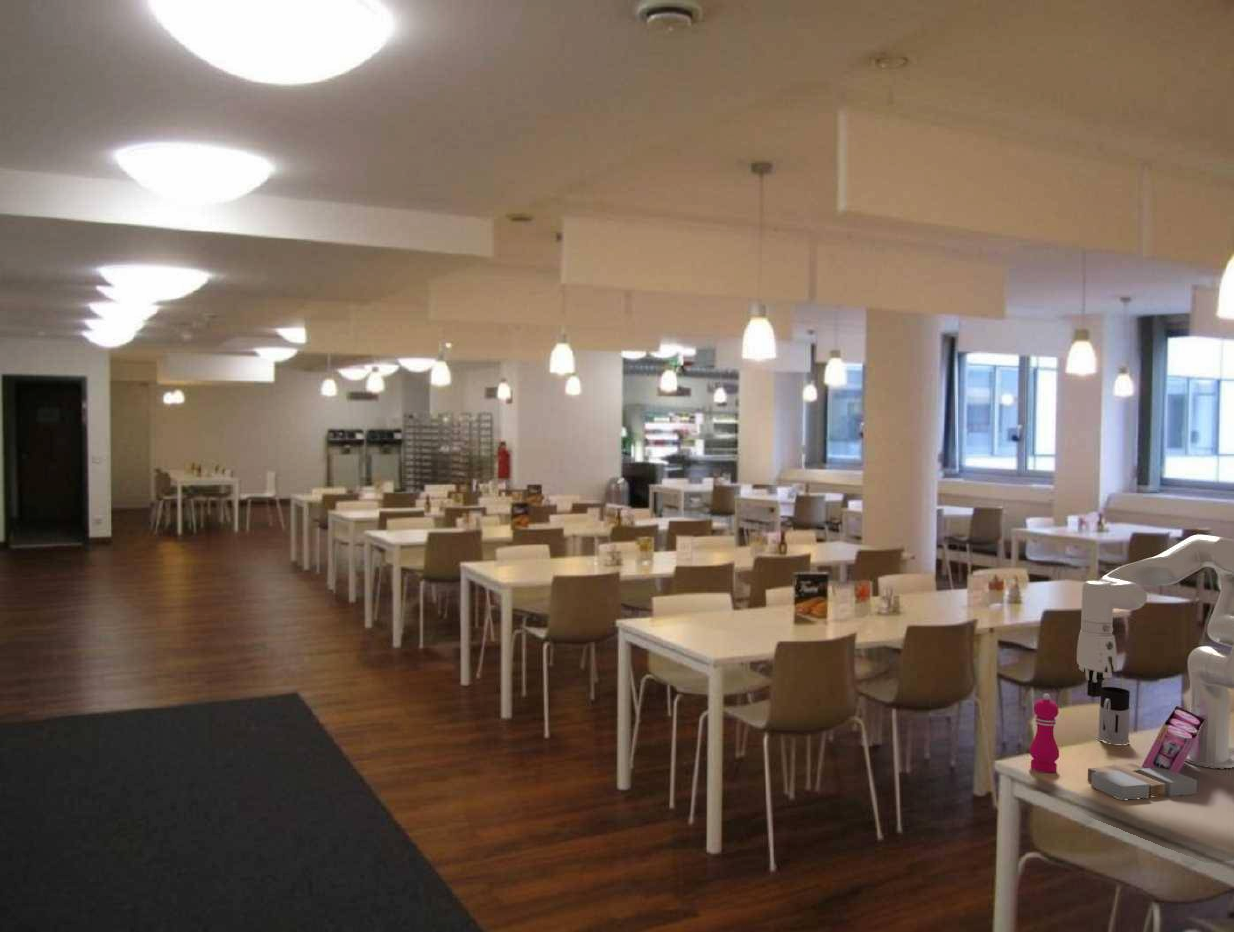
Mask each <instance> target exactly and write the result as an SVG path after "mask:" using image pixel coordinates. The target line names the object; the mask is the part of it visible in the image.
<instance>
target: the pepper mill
mask: <svg viewBox="0 0 1234 932" xmlns="http://www.w3.org/2000/svg"><path fill="white" fill-rule="evenodd" d="M1033 712H1034V714H1035V715H1036V716H1035V721H1034V722H1035V723H1036V733H1035V736H1034V738H1033V740H1032V741H1031V742H1030V746H1029V754H1030V756H1031V758H1032V759H1031V761H1030V768H1031V767H1032V768H1033V770H1034V769H1035V770H1034V771H1036V770H1038V771H1037V772H1040V771H1043V772H1042V773H1045V772H1053V773H1055V771H1056V772H1057V770H1058V768H1057V766H1058V764H1057V763H1056V761H1057V760H1058V759H1059V758H1060V750H1059V746H1058V744H1057V742H1056V740H1055V736H1054V729H1055V726H1056V725H1057V724H1056V721H1057V719H1056V717H1058V715H1059V707H1058V705H1057V704H1056V702H1054V701H1053V700H1051V695H1050V694H1049V693H1044V694H1043V695H1042V699H1039V700H1037V701H1035V703H1034V705H1033ZM1032 768H1031V769H1032Z"/></svg>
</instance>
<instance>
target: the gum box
mask: <svg viewBox="0 0 1234 932" xmlns="http://www.w3.org/2000/svg"><path fill="white" fill-rule="evenodd" d="M1205 720H1206V719H1203V718H1202V717H1199V716H1197V715H1195V714H1193V713H1191V712H1190V710H1187V709H1185V708H1182V707H1181V706H1179V705H1175V706H1174V708H1173V710H1172V711H1171V712H1170V714H1169V716H1168V717H1167V718H1166V720H1165V721H1164V722H1163V724H1162V726H1161V727H1160V730H1159V731H1158V733H1157V735H1156V737H1155V740H1154V742H1153V744H1152V745H1151V747H1150V750H1148V751H1149V752H1148V753H1147V755H1146V758H1145V759H1144V761H1143V763H1142V764H1141V767H1143V768H1164V769H1169V770H1172V771H1175V772H1178V773H1180V771H1181V770H1182V768H1183V766H1184V764H1185V762H1186V761H1185V760H1186V758H1187V756H1188V754H1189V752H1190V750H1191V748H1192V746H1193V744H1194V742H1195V740H1196V738H1197V736H1198V734H1199V732H1200V730H1201V728H1202V726H1203V724H1204V722H1205Z"/></svg>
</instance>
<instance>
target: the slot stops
mask: <svg viewBox="0 0 1234 932" xmlns="http://www.w3.org/2000/svg"><path fill="white" fill-rule="evenodd" d="M1139 774H1141V775H1144V776H1146V777H1149V778H1151V779H1154V780H1156V781H1159V782H1161V783H1164V784H1165V794H1166V795H1165V796H1168V797H1170V796H1171V797H1180V796H1179V795H1183V796H1190V795H1191V796H1192V794H1194V795H1197V788H1198V786H1197V784H1198V780H1197V779H1195V778H1193V777H1190V776H1187V775H1184V774H1182V773H1180V772H1179V773H1178V772H1175V771H1172V770H1169V769H1164V768H1146V769H1139ZM1090 782H1091V784H1090V787H1091V786H1092V787H1091V788H1093V789H1095V788H1098V789H1100V790H1101V791H1100V790H1099V791H1100V792H1102V791H1103V792H1102V793H1104V792H1105V793H1104V794H1106V793H1107V794H1106V795H1108V794H1109V796H1110V795H1111V796H1110V797H1112V796H1115V797H1117V798H1119V799H1121V800H1125V799H1137V798H1147V797H1149V784H1147V783H1145V782H1143V781H1141V780H1138V779H1136V778H1134V777H1131V776H1129V775H1127V774H1124V773H1122V772H1120V771H1108V772H1095V773H1092V778H1091V781H1090ZM1117 798H1116V799H1117ZM1149 798H1150V797H1149ZM1119 799H1118V800H1119ZM1121 800H1120V801H1121ZM1137 800H1138V799H1137ZM1125 801H1126V800H1125Z"/></svg>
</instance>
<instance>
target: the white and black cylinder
mask: <svg viewBox="0 0 1234 932" xmlns="http://www.w3.org/2000/svg"><path fill="white" fill-rule="evenodd" d="M1130 694H1131V692H1130V690H1128V689H1126V688H1122V687H1116V686H1104V687H1103V686H1102V695H1101V697H1100V703H1099V712H1098V713H1099V714H1098V715H1099V716H1098V734H1097V736H1096V740H1097V741H1098V742H1100V740H1104V741H1106V742H1107V743H1111V744H1127V743H1129V742H1130V738H1129V736H1130V735H1129V734H1130V733H1129V730H1130V714H1131V713H1130V710H1131V707H1130V697H1131V695H1130Z"/></svg>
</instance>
